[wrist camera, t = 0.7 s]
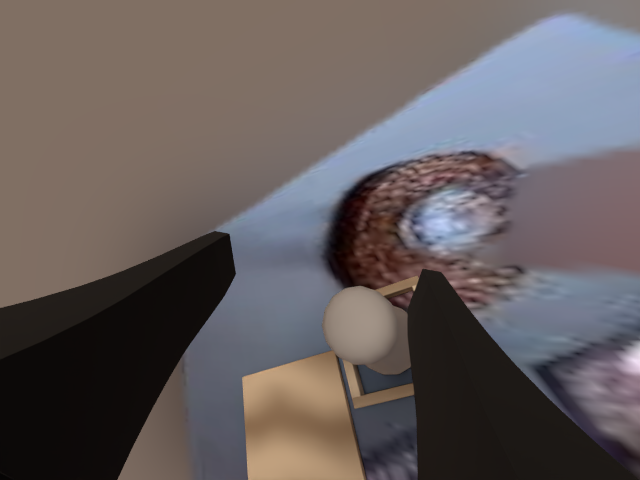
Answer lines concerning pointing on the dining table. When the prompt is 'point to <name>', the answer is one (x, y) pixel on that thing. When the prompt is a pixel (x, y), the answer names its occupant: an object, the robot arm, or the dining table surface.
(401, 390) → the birch collar
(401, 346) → the beige bowling pin
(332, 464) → the cork mat
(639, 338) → the dining table surface
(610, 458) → the robot arm
